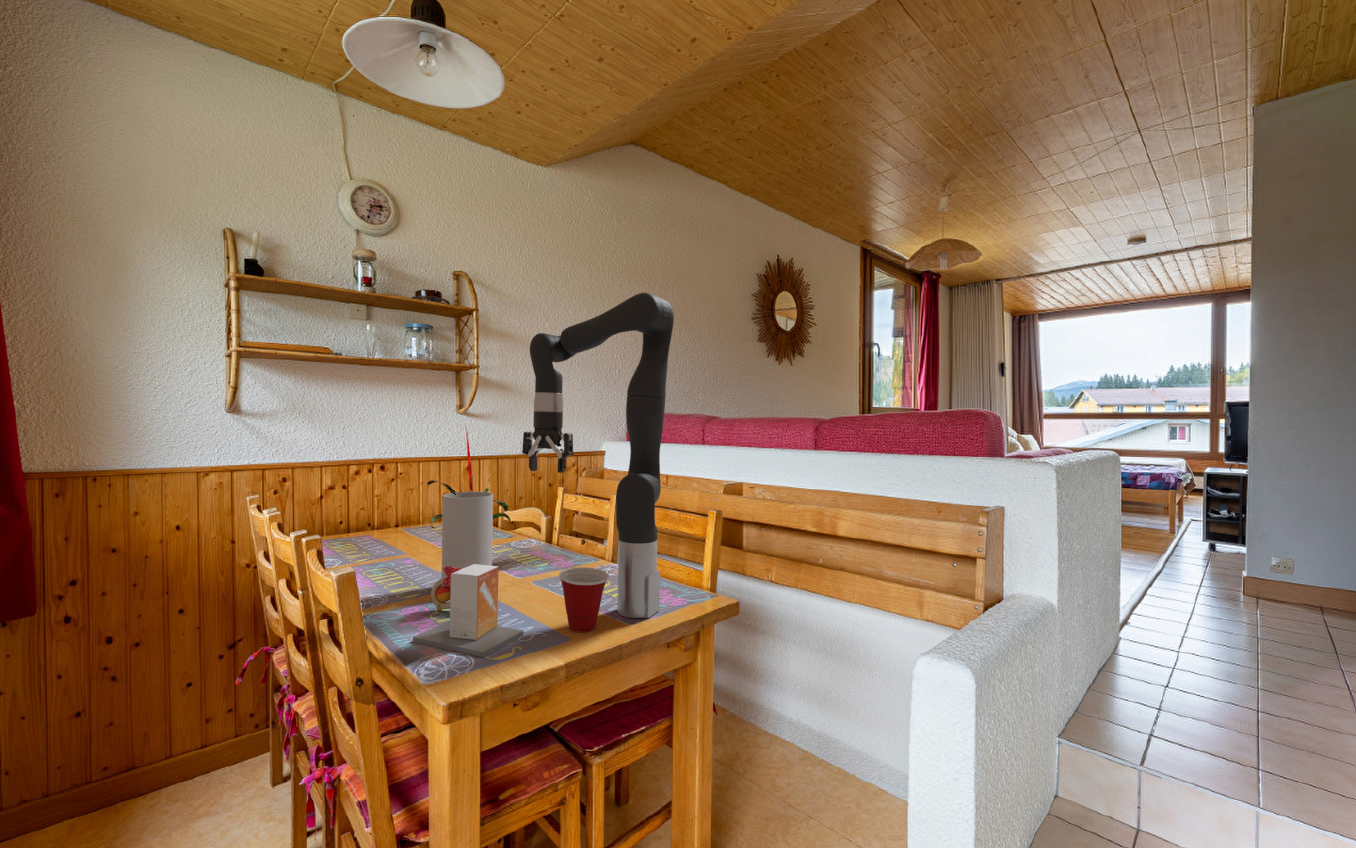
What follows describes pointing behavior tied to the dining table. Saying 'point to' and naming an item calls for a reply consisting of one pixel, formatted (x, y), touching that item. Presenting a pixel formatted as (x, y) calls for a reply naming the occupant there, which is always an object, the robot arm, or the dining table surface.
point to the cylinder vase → (467, 529)
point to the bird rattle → (443, 589)
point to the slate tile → (468, 640)
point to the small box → (473, 601)
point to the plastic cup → (583, 596)
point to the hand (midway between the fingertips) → (547, 471)
